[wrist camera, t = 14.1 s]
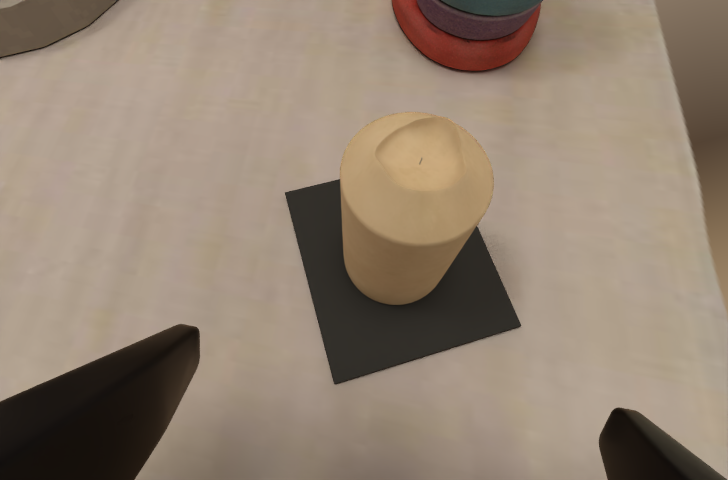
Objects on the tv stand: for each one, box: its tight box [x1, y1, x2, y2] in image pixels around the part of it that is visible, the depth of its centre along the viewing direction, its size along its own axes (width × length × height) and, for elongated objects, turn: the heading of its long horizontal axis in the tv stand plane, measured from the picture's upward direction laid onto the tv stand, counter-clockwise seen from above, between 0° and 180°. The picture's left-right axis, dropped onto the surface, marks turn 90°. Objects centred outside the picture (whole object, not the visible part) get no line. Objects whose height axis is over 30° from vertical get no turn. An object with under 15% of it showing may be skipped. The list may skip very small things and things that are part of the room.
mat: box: [285, 179, 521, 384], centre depth 23 cm, size 11×10×1 cm
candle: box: [340, 112, 494, 305], centre depth 18 cm, size 6×6×10 cm
